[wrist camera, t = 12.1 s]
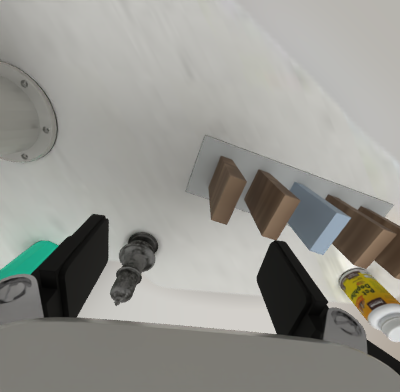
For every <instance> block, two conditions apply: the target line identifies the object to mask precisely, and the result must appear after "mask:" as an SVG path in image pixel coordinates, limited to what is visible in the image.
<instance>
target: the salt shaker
mask: <svg viewBox="0 0 400 392" xmlns="http://www.w3.org/2000/svg"><path fill="white" fill-rule="evenodd" d="M157 249H158V243H157V241H156V239H155V238H154V237H153V236H152V235H150V234H148V233H143V232H140V233H135V234H134V235H132V236H131V237H130V239H129V241H128V244H127V245H125V246H124V247H123V248H122V249H121V250H120V253H119V259H120V262H121V263H122V265H123V266H122V268H120V269H119V270H118V271H117V273H116V277H117V279H116V281H115V283H114V284H113V286H112V289H111V292H110V295H111V297H112V299H113V300H115V302H114V303H115V305H116V306H117V305H119V304H120V302H121V303H123V302H126V301H128V300H130V299H131V297H132V295H133V292H134V290H135V287H136V285H137V284H138V283H140V281H141V279H142V276H141V273H142V272H144V271H148V270H149V269H151V268H152V267H153V266H154V263H155V255H154V254H155V252H156V251H157Z"/></svg>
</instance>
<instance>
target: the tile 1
mask: <svg viewBox="0 0 400 392" xmlns="http://www.w3.org/2000/svg"><path fill="white" fill-rule="evenodd" d="M246 183H247V181H246V179H245V178H244V176H243V175H242V173H241V172H240V170H239V169H238V167H237V166H236V164H235V163H234V161H233V160H232V159H229V158H226V157H224V156H221V157H220V159H219V162H218V164H217V167H216V169H215V172H214V174H213V177H212V179H211V182H210V184H209V187H208V189H209V200H210V212H211V220H213V221H216V222H220V223H223V224H226V225H227V223H228V221H229V219H230V217H231V215H232V213H233V211H234V208H235V206H236V204H237V202H238V200H239V198H240V196H241V194H242V192H243V189H244V187H245V185H246Z"/></svg>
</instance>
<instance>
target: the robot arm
mask: <svg viewBox="0 0 400 392" xmlns="http://www.w3.org/2000/svg"><path fill="white" fill-rule="evenodd" d="M56 131H57V127H56V119H55V115H54V111H53V109H52V106H51V104H50V102H49V100H48V98H47V97H46V95H45V94H44V92H43V91H42V89H41V88H40V87H39V86H38V85H37V83H36V82H35V81H33V80H32V79H31V78H30V77H29V76H28V75H27V74H25V73H24V72H22V71H21V70H19V69H18V68H16V67H14V66H12V65H10V64H8V63H4V62H1V61H0V158H1V159H4V160H7V161H11V162H21V163H22V162H29V161H33V160H37V159H39V158H41V157H43V156H44V155H46V154H47V153H48V152H49V151H50V149H51V148H52V146H53V144H54V142H55V139H56ZM108 233H109V220H108V219H106V218H105V216H104V215H97V214H93V215H91V216H90V217H89V218H88V219H87V221H86V222H85V223H84V224H83V225H82V226H81V227H80V228H79V229H78V230H77V231H76V232H75V233H74V234H73V235H72V236H69V237H67V238H66V239H65V240H64V241H63V242H62V243H61V244H60V245H59V246H58V247H57V248H56V249H55V250H54V251H53V252H52V253H51V254H50V255H49V256H48V257H47V258H46V259H45V260H44V261H43V262H42V263H41V264H40V265H39V266H38V267H37V268H36V269H35V270H34V271H33V272H32V273H31V274H30V275H29V274H17V275H12V276H9V277H6V278H4V279H1V280H0V392H400V362H399V361H398V360H396V359H395V358H393V357H392V356H390V355H389V354H387V353H386V352H384V351H383V350H382V349H380V348H378V347H377V346H376V345H374V344H373V343H371V342H370V341H368V340H367V339H366V334H365V330H364V328H363V327H362V326H361V324H360V323H359V322H358V321H357V320H356V319H355V318H354V317H353V316H352V315H350V314H349V313H347V312H346V311H344V310H342V309H339V308H330V309H329V308H328V306H327V303H328V301H327V299H326V298H325V297H324V295H323V294H322V292H321V291H320V290H319V288H318V287H317V285H316V284H315V283H314V281H313V280H312V278H311V277H310V276H309V274H308V273H307V271H306V270H305V269H304V267H303V266H302V264H301V263H300V262H299V260H298V259H297V257H296V256H295V254H294V253H293V252H292V250H291V249H290V247H289V246H288V245H287V243H286V242H284V241H277V240H275V241H274V242H272V243H271V244H270V246H269V248H268V251H267V253H266V255H265V258H264V260H263V263H262V265H261V268H260V270H259V272H258V275H257V283H258V286H259V288H260V291H261V293H262V296H263V299H264V301H265V304H266V307H267V309H268V312H269V314H270V317H271V320H272V323H273V325H274V328H275V330H276V333H277V334H268V333H257V332H247V331H235V330H225V329H214V328H202V327H192V326H180V325H168V324H156V323H144V322H131V321H120V320H107V319H91V318H76V317H77V316H78V314H79V312H80V310H81V309H82V307H83V305H84V303H85V301H86V299H87V298H88V296H89V294H90V292H91V290H92V289H93V287H94V285H95V284H96V282H97V280H98V278H99V276H100V275H101V273H102V271H103V269H104V267H105V266H106V264H107V261H108Z"/></svg>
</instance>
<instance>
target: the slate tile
mask: <svg viewBox="0 0 400 392" xmlns="http://www.w3.org/2000/svg"><path fill="white" fill-rule="evenodd" d="M290 192H292V193H293V194H294V195H295V196H296V197H297V198H298V199H300V200H301V201H300V203H299V204H298V206H297V208H296V209H295V211H294V213H293V214H292V216H291V217H290V219H289V221H288V222H287V223H288V224H289V225H290V226H291V228H292V229H293V230H294V232H295V233H296V234H297V235H298V237H299V238H300V239H301V240H302V242H303V243H304V244H305V245H306V247H307V248H308V249H309V251H312V252H316V253H319V254H322V255H323V254H324V253H325V252H326V250H327V249H328V248H329V246H330V245H331V244H332V243H333V241H334V240H335V239H336V237H337V236H338V235H339V233H340V232H341V231H342V229H343V228H344V227H345V226H346V224H347V223H348V222H349V220H350V219H351V217H349V216H348V215H346V214H345V213H343V212H342V211H341V210H339V209H338V208H336V207H335V206H333V205H332V204H331V203H329V202H328V201H326V200H325V199H323V198H322V197H321V196H319V195H318V194H316V193H315V192H313V191H312V190H310V189H309V188H308V187H306V186H304V185H302V184H299V183H296V182H294V184H293V186H292V187H291V189H290Z"/></svg>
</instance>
